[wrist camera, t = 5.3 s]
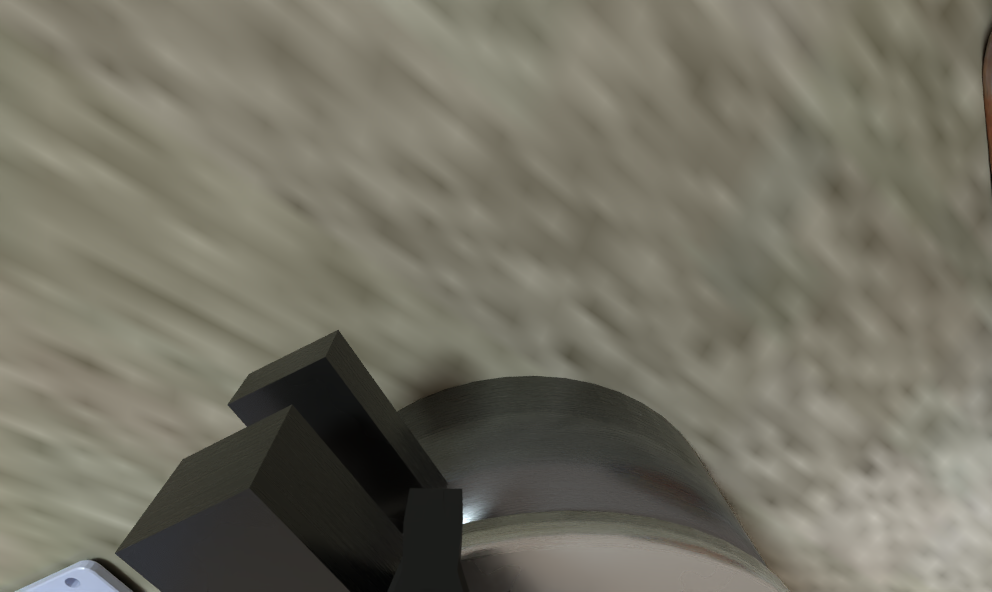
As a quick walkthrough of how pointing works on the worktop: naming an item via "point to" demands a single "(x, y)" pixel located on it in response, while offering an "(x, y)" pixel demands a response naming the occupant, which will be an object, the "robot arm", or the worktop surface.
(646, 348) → the worktop surface
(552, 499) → the cooker pot
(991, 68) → the tin
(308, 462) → the lid
